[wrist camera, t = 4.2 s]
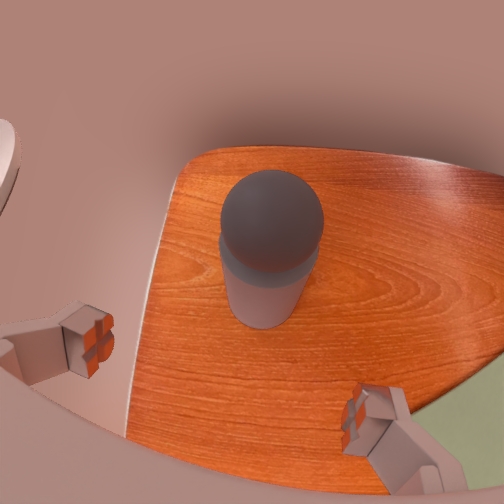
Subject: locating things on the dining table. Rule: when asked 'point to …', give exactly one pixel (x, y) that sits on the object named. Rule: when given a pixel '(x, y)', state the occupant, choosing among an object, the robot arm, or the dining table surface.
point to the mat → (472, 424)
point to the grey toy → (268, 245)
